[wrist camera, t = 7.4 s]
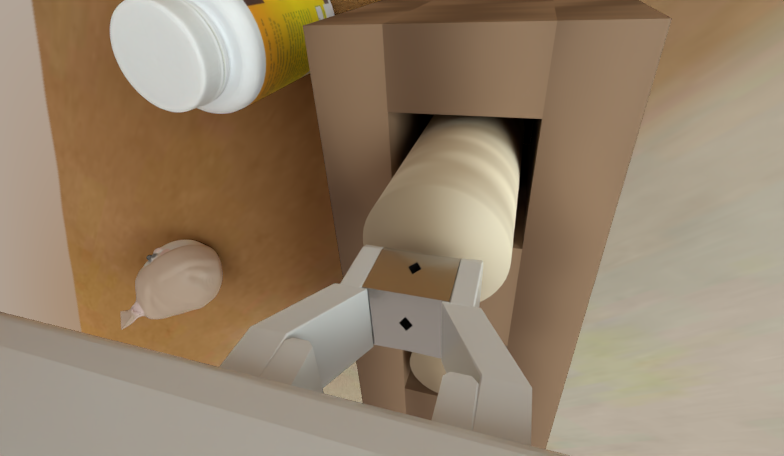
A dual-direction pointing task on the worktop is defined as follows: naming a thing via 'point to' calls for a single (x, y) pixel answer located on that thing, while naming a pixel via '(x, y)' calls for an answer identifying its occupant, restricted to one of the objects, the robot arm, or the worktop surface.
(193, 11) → the supplement bottle
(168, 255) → the garlic bulb
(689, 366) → the worktop surface
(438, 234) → the peg
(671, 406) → the worktop surface
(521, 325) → the block
